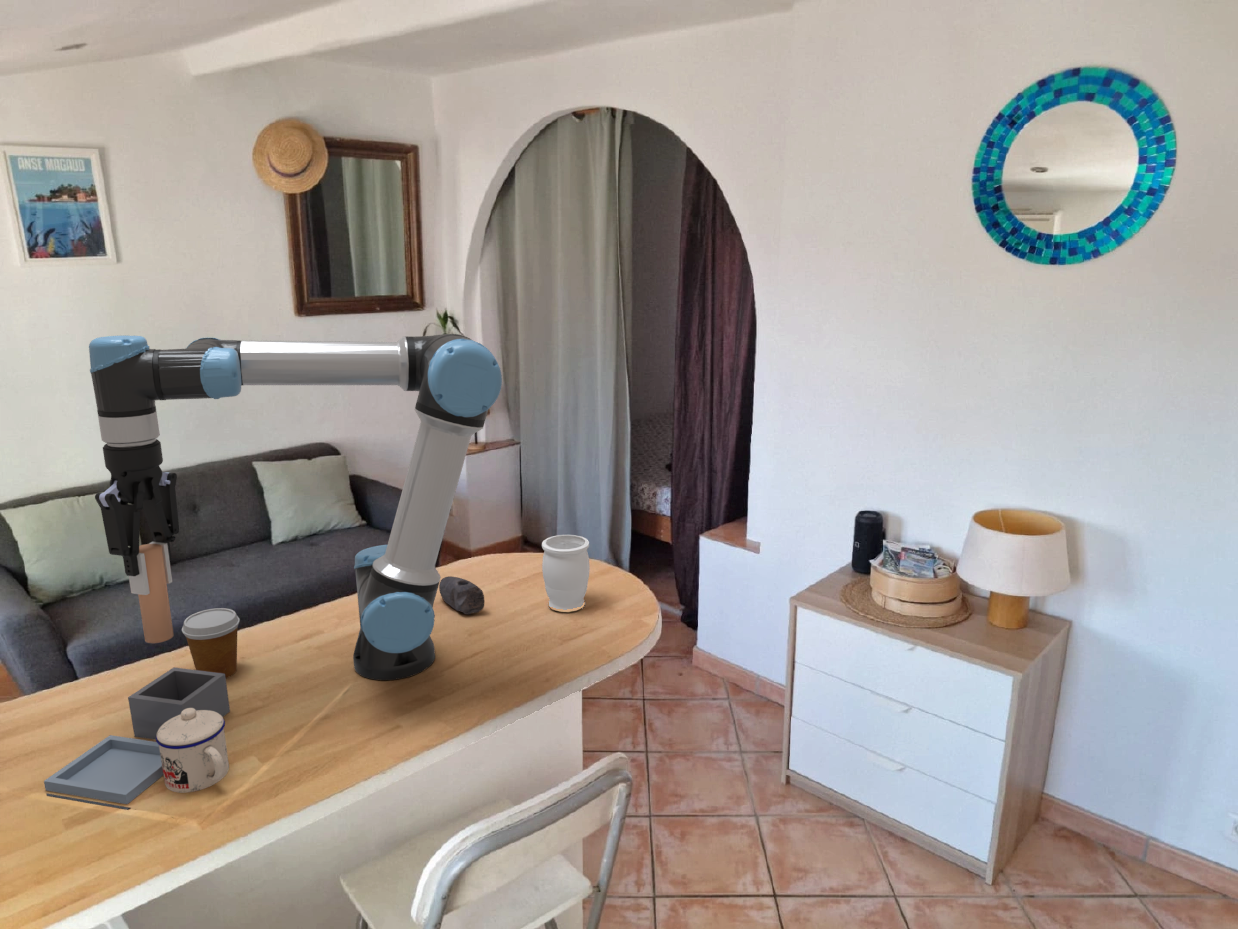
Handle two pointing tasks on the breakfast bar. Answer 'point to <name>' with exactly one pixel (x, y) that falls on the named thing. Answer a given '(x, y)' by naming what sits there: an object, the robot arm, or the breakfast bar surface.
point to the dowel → (155, 597)
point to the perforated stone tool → (461, 594)
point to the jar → (565, 570)
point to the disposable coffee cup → (213, 640)
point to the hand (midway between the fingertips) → (152, 587)
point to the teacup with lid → (193, 750)
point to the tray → (109, 772)
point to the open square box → (176, 698)
